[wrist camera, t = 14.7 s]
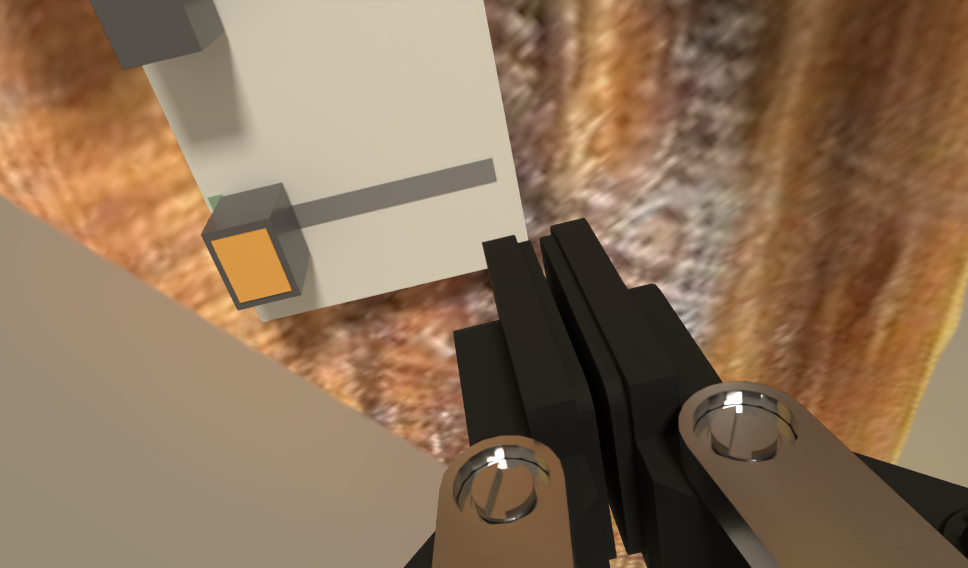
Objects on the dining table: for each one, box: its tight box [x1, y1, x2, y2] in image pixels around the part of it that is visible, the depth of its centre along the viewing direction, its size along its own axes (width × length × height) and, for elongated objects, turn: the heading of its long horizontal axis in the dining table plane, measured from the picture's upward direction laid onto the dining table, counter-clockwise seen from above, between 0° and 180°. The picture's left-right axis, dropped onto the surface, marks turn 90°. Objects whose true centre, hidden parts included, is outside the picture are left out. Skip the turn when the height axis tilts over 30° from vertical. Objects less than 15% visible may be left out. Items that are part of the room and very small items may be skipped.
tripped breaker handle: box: [201, 183, 310, 310], centre depth 31 cm, size 3×4×4 cm
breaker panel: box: [142, 0, 528, 322], centre depth 31 cm, size 15×22×3 cm
